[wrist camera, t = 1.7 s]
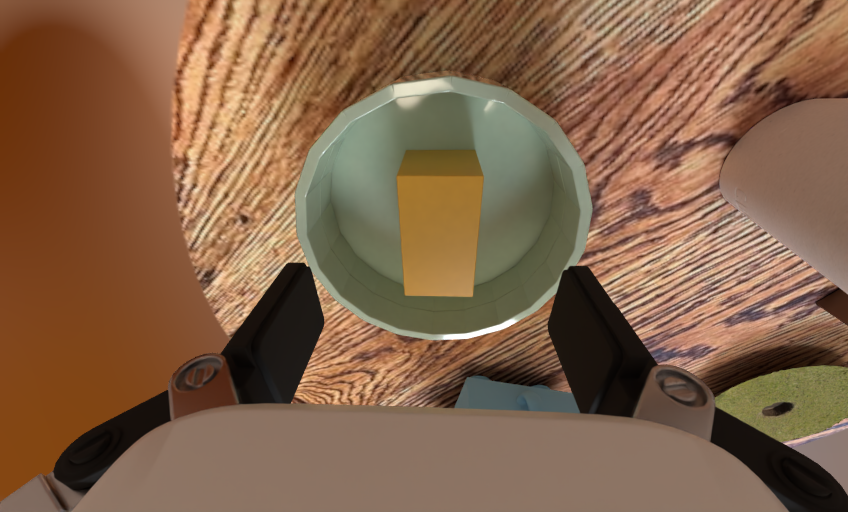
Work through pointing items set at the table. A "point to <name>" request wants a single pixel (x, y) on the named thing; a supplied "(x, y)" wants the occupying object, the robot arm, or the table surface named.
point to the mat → (790, 401)
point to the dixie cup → (797, 182)
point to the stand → (836, 305)
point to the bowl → (500, 210)
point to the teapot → (513, 397)
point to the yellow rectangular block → (439, 221)
